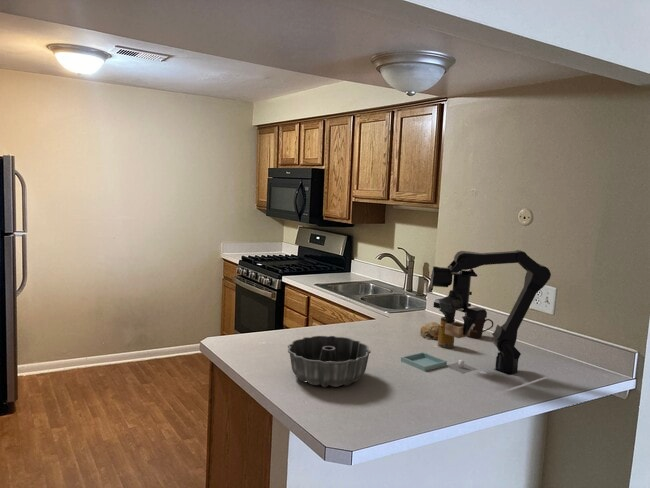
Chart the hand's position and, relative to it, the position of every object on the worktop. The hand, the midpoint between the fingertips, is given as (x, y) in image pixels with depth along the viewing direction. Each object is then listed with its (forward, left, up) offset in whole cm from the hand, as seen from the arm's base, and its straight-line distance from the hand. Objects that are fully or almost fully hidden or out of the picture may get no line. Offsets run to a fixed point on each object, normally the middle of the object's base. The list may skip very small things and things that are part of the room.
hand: (457, 332), depth 179 cm
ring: (0, 0, -1) cm, 1 cm away
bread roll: (+31, -23, -13) cm, 40 cm away
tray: (+8, +7, -13) cm, 17 cm away
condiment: (+16, -15, -13) cm, 26 cm away
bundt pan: (+15, +44, -13) cm, 48 cm away
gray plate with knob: (-2, -1, -13) cm, 13 cm away
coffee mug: (+20, -38, -13) cm, 45 cm away
